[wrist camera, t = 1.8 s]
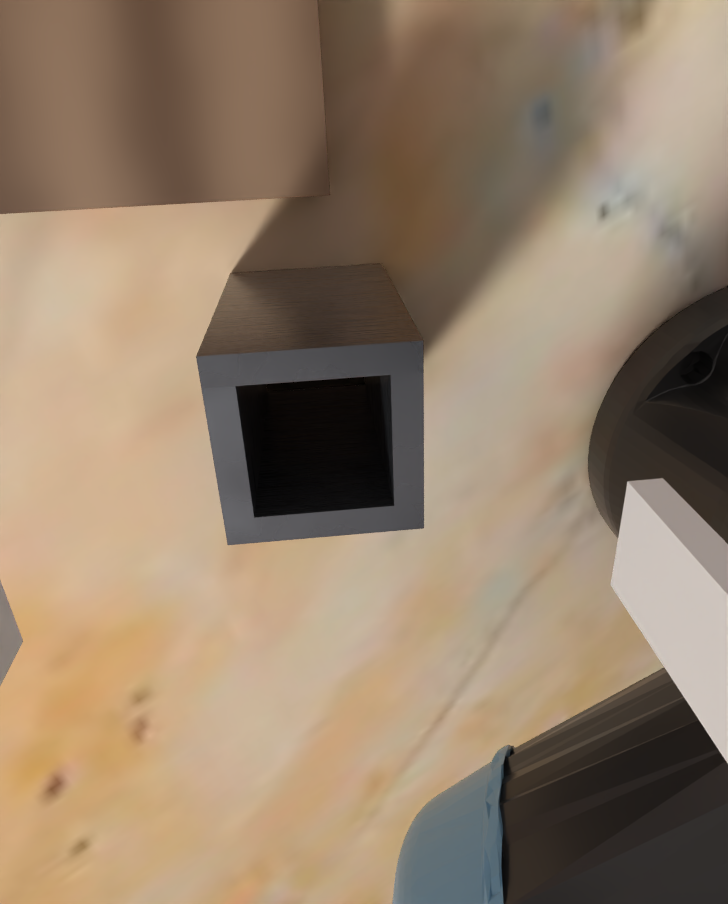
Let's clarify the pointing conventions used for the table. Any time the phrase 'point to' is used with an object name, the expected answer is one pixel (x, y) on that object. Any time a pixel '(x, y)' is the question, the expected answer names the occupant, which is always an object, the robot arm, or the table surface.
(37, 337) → the table surface
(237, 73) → the tang block
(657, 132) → the table surface
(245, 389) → the hollow square tube
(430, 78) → the table surface
